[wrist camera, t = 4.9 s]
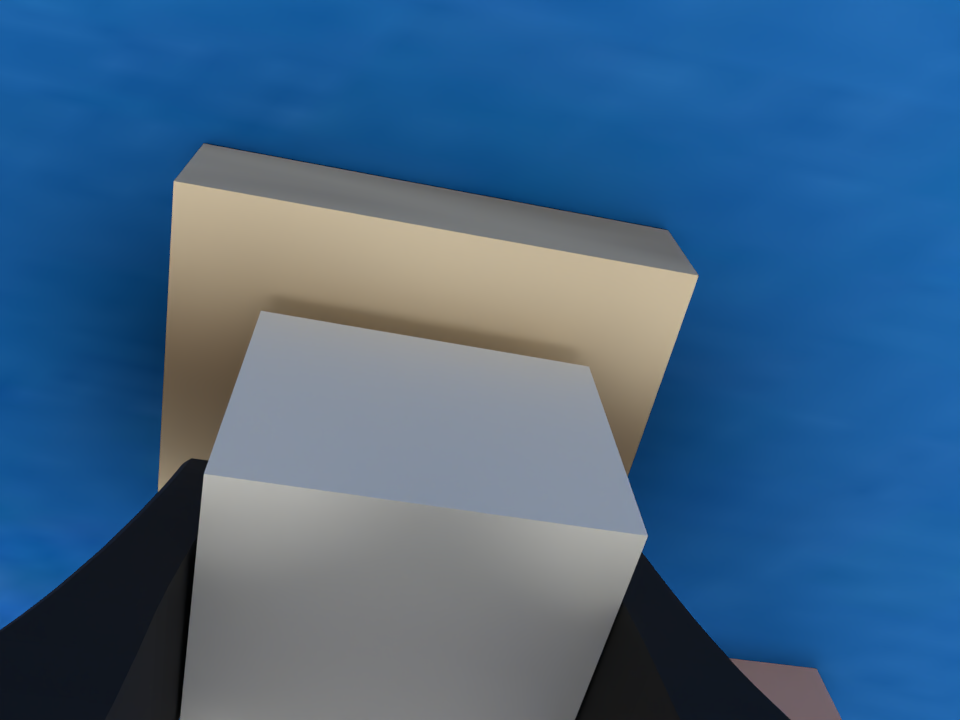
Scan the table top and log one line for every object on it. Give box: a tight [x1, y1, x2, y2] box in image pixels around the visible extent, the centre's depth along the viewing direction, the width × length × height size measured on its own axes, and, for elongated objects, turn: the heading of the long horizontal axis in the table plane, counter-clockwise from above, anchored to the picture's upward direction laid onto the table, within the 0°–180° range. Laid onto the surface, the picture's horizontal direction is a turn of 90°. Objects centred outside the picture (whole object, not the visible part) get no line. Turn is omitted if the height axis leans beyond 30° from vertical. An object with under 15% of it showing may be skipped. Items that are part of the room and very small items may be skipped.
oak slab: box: [158, 144, 699, 492], centre depth 16 cm, size 8×8×2 cm
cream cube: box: [180, 311, 648, 720], centre depth 13 cm, size 5×5×4 cm
